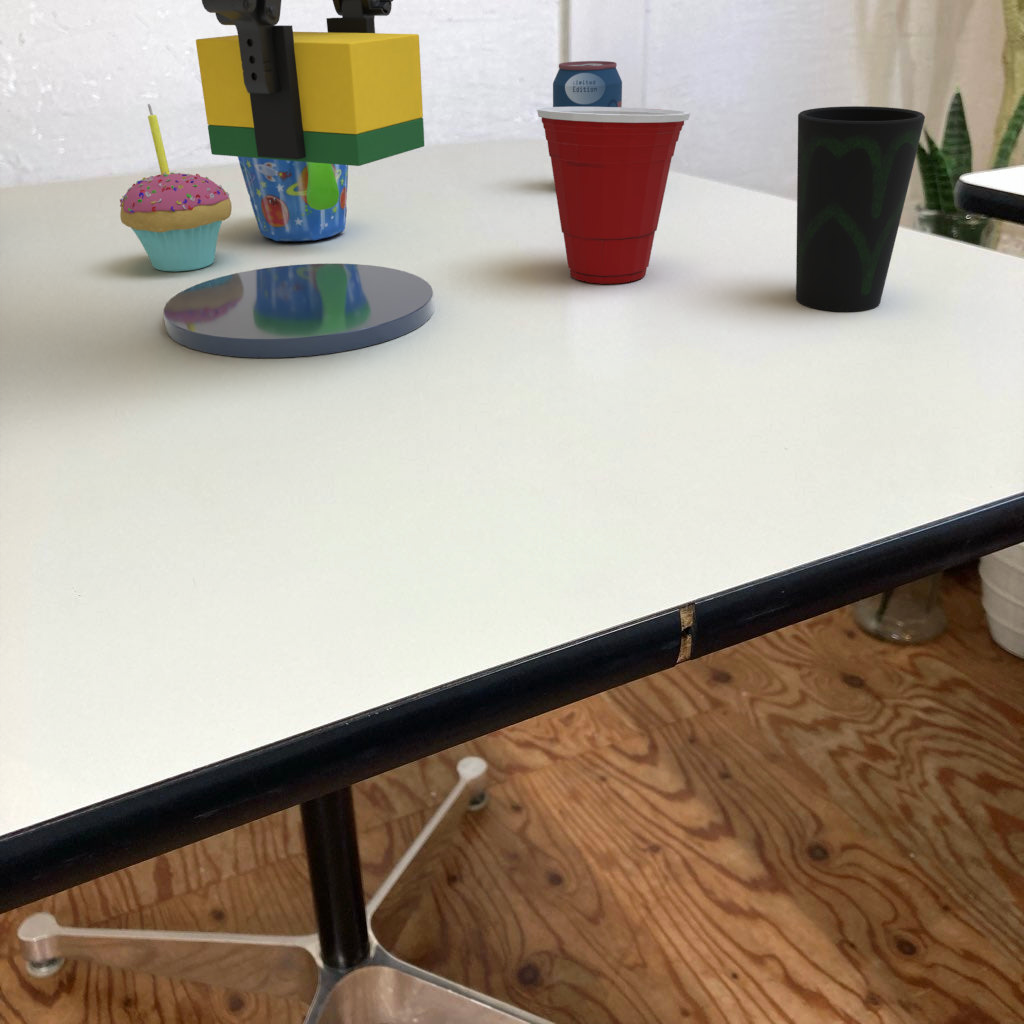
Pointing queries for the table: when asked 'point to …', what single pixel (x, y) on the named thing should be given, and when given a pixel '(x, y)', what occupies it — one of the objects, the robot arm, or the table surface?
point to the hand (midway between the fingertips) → (322, 145)
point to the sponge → (325, 96)
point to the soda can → (587, 85)
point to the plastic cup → (610, 184)
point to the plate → (298, 310)
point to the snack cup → (296, 197)
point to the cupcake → (175, 214)
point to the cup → (850, 201)
